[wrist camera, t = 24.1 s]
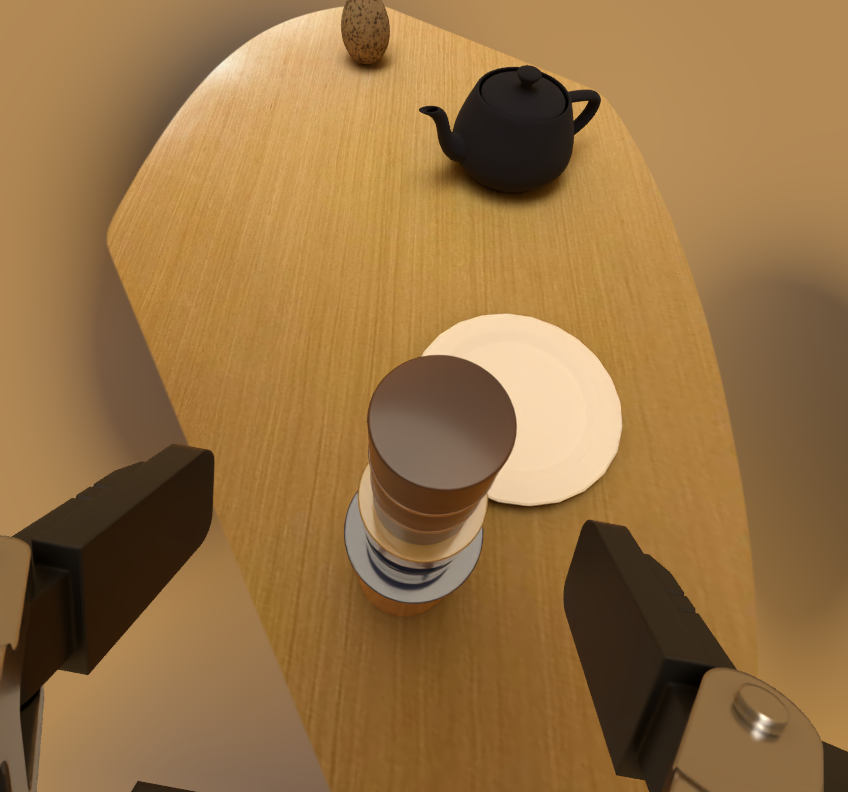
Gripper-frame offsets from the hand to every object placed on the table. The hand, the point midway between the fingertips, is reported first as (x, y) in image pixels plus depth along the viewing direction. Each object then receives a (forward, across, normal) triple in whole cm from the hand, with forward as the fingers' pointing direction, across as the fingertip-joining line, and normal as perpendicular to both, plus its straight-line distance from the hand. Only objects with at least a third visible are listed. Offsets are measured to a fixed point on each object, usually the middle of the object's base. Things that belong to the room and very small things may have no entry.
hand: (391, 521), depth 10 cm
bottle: (+25, -1, +19) cm, 31 cm away
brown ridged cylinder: (+10, -1, +5) cm, 11 cm away
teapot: (+62, -4, -18) cm, 65 cm away
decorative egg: (+76, +18, -32) cm, 84 cm away
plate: (+36, -9, +8) cm, 38 cm away
